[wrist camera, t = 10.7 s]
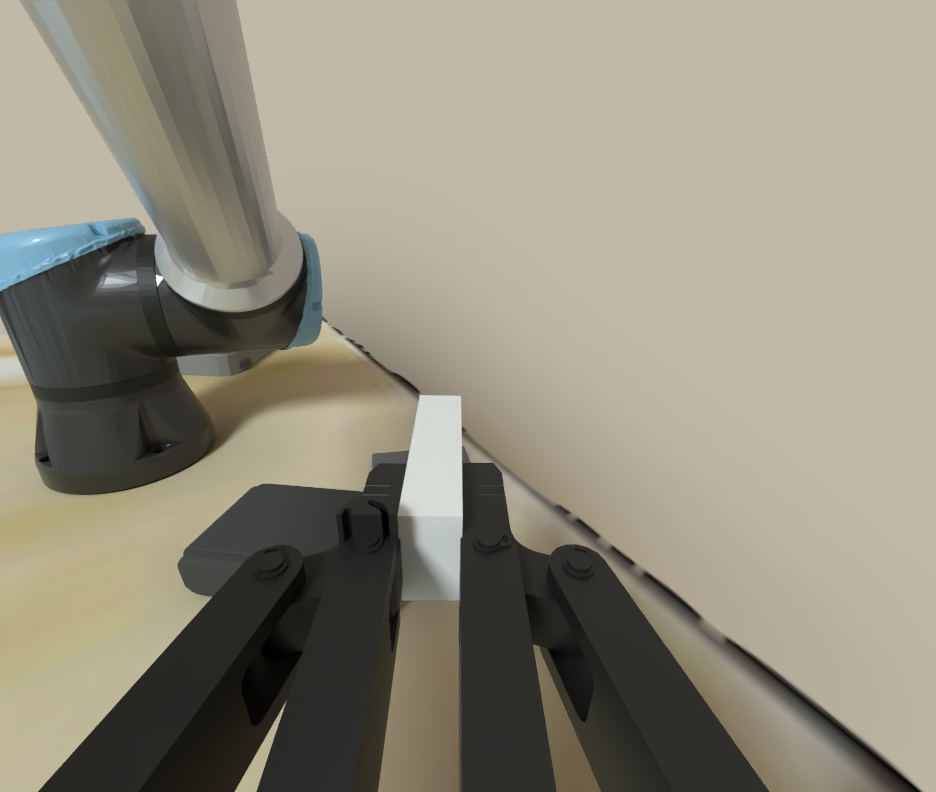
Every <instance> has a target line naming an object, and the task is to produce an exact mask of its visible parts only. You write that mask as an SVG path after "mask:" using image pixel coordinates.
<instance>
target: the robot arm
mask: <svg viewBox="0 0 936 792" xmlns="http://www.w3.org/2000/svg"><path fill="white" fill-rule="evenodd" d="M20 2H21V3H22V5H23V7H24V8H25V10H26V12H27V13H28V15H29V17H30V18H31V20H32V22H33V23H34V25H35V27H36V28H37V30H38V32H39V33H40V35H41V36H42V38H43V40H44V42H45V43H46V45H47V46H48V48H49V50H50V52H51V53H52V55H53V57H54V58H55V60H56V62H57V63H58V65H59V67H60V68H61V70H62V72H63V73H64V75H65V77H66V78H67V80H68V82H69V83H70V85H71V87H72V88H73V90H74V92H75V93H76V95H77V97H78V98H79V100H80V102H81V103H82V105H83V107H84V108H85V110H86V112H87V113H88V115H89V116H90V118H91V120H92V122H93V123H94V125H95V127H96V128H97V130H98V132H99V133H100V135H101V136H102V138H103V140H104V142H105V143H106V145H107V146H108V148H109V150H110V152H111V153H112V155H113V156H114V158H115V160H116V162H117V163H118V165H119V166H120V168H121V170H122V171H123V173H124V175H125V176H126V178H127V180H128V181H129V183H130V185H131V186H132V188H133V190H134V191H135V193H136V195H137V196H138V198H139V200H140V201H141V203H142V205H143V206H144V208H145V210H146V211H147V213H148V215H149V216H150V218H151V220H152V221H153V223H154V225H155V226H156V228H157V229H158V233H157V235H146V234H145V232H146V231H145V228H144V227H143V226H142V225H141V223H140V221H139V220H137V219H136V218H125V219H117V220H108V221H100V222H91V223H83V224H74V225H66V226H59V227H50V228H41V229H34V230H26V231H18V232H10V233H2V234H0V316H1V319H2V321H3V324H4V326H5V328H6V330H7V333H8V335H9V338H10V340H11V342H12V345H13V347H14V349H15V352H16V354H17V356H18V359H19V361H20V363H21V366H22V368H23V370H24V373H25V375H26V378H27V380H28V382H29V384H30V386H31V389H32V391H33V394H34V396H35V399H36V402H37V420H36V442H35V463H36V466H37V468H38V471H39V473H40V475H41V478H42V480H43V482H44V484H45V485H46V486H47V487H49V488H50V489H52V490H55V491H58V492H62V493H68V494H97V493H106V492H113V491H118V490H123V489H128V488H132V487H136V486H140V485H143V484H146V483H149V482H153V481H155V480H158V479H161V478H163V477H166V476H168V475H171V474H173V473H175V472H177V471H179V470H181V469H183V468H185V467H187V466H189V465H190V464H192V463H194V462H195V461H196V460H198V459H199V458H201V457H202V456H203V455H204V454H205V453H206V452H207V451H208V450H209V449H210V448H211V446H212V445H213V443H214V440H215V433H214V429H213V425H212V421H211V418H210V416H209V414H208V413H207V411H206V410H205V409H204V407H203V406H202V404H201V403H200V401H199V400H198V399H197V397H196V396H195V394H194V393H193V392H192V390H191V389H190V387H189V386H188V384H187V383H186V382H185V380H184V379H183V377H182V375H181V373H180V370H179V366H178V362H177V358H176V357H182V356H193V355H206V354H219V353H231V352H244V351H257V350H270V349H279V350H287V349H290V348H292V347H299V346H306V345H310V344H312V343H313V342H315V341H316V340H317V338H318V336H319V334H320V330H321V324H322V305H321V302H322V280H321V269H320V261H319V255H318V250H317V246H316V243H315V241H314V239H313V238H311V237H310V236H309V235H307V234H301V233H299V232H296V230H295V228H294V227H293V225H292V224H291V222H290V221H289V220H288V219H287V218H286V217H285V216H284V215H283V214H281V213H280V212H279V211H278V210H277V207H276V202H275V197H274V192H273V187H272V182H271V176H270V171H269V166H268V161H267V156H266V151H265V146H264V141H263V136H262V130H261V125H260V120H259V115H258V110H257V105H256V100H255V95H254V90H253V85H252V79H251V75H250V70H249V64H248V59H247V54H246V49H245V44H244V39H243V34H242V28H241V24H240V18H239V13H238V8H237V3H236V0H20ZM336 521H337V528H338V536H339V545H338V546H336V547H334V548H332V549H330V550H327V551H324V552H321V553H317V554H313V555H309V556H305V557H303V556H302V554H301V553H300V551H299V550H298V549H297V548H294V547H292V546H289V545H275V546H270V547H266V548H264V549H262V550H260V551H258V552H256V553H254V554H253V555H251V556H250V557H249V558H248V559H247V560H245V561H244V563H243V564H242V565H241V566H240V567H239V568H238V569H237V570H236V571H235V573H234V574H233V575H232V576H231V577H230V578H229V579H228V580H227V582H226V583H225V584H224V585H223V586H222V587H221V588H220V589H219V590H218V592H217V593H216V594H215V595H214V596H213V597H212V598H211V599H210V600H209V602H208V603H207V604H206V605H205V606H204V607H203V608H202V609H201V611H200V612H199V613H198V614H197V615H196V616H195V617H194V618H193V619H192V621H191V622H190V623H189V624H188V625H187V626H186V627H185V628H184V629H183V631H182V632H181V633H180V634H179V635H178V636H177V637H176V638H175V640H174V641H173V642H172V643H171V644H170V645H169V646H168V647H167V648H166V650H165V651H164V652H163V653H162V654H161V655H160V656H159V657H158V658H157V660H156V661H155V662H154V663H153V664H152V665H151V666H150V667H149V669H148V670H147V671H146V672H145V673H144V674H143V675H142V676H141V677H140V679H139V680H138V681H137V682H136V683H135V684H134V685H133V686H132V687H131V689H130V690H129V691H128V692H127V693H126V694H125V695H124V696H123V697H122V699H121V700H120V701H119V702H118V703H117V704H116V705H115V706H114V708H113V709H112V710H111V711H110V712H109V713H108V714H107V715H106V716H105V718H104V719H103V720H102V721H101V722H100V723H99V724H98V725H97V726H96V728H95V729H94V730H93V731H92V732H91V733H90V734H89V735H88V737H87V738H86V739H85V740H84V741H83V742H82V743H81V744H80V745H79V747H78V748H77V749H76V750H75V751H74V752H73V753H72V754H71V755H70V757H69V758H68V759H67V760H66V761H65V762H64V763H63V764H62V766H61V767H60V768H59V769H58V770H57V771H56V772H55V773H54V774H53V776H52V777H51V778H50V779H49V780H48V781H47V782H46V783H45V784H44V786H43V787H42V788H41V789H40V790H39V791H38V792H235V790H236V788H237V786H238V785H239V783H240V781H241V779H242V778H243V776H244V774H245V772H246V771H247V769H248V767H249V765H250V763H251V762H252V760H253V758H254V756H255V755H256V753H257V751H258V749H259V748H260V746H261V744H262V742H263V741H264V739H265V737H266V735H267V734H268V732H269V730H270V728H271V727H272V725H273V723H274V721H275V720H276V718H277V716H278V714H279V713H280V711H281V709H282V707H283V706H284V704H285V702H286V700H287V702H286V705H285V708H284V711H283V714H282V717H281V720H280V723H279V726H278V729H277V732H276V735H275V738H274V741H273V744H272V747H271V750H270V753H269V756H268V759H267V762H266V765H265V768H264V771H263V774H262V777H261V780H260V783H259V786H258V789H257V792H378V787H379V779H380V771H381V764H382V756H383V748H384V741H385V733H386V726H387V718H388V710H389V703H390V695H391V687H392V680H393V672H394V665H395V657H396V649H397V642H398V634H399V626H400V598H401V592H402V601H460V606H459V792H556V786H555V779H554V773H553V767H552V761H551V755H550V748H549V742H548V736H547V730H546V723H545V717H544V711H543V705H542V699H541V692H540V686H539V680H538V674H537V667H536V661H535V655H534V649H533V644H535V645H538V646H539V647H540V651H541V653H542V656H543V658H544V660H545V663H546V665H547V667H548V669H549V672H550V674H551V676H552V679H553V681H554V683H555V686H556V688H557V690H558V693H559V695H560V697H561V699H562V702H563V704H564V706H565V709H566V711H567V713H568V716H569V718H570V720H571V723H572V725H573V727H574V729H575V732H576V734H577V736H578V739H579V741H580V743H581V746H582V748H583V750H584V753H585V755H586V757H587V759H588V762H589V764H590V766H591V769H592V771H593V773H594V776H595V778H596V780H597V783H598V785H599V787H600V790H601V792H769V791H768V789H767V788H766V786H765V785H764V784H763V782H762V781H761V779H760V778H759V777H758V775H757V774H756V772H755V771H754V770H753V768H752V767H751V765H750V764H749V762H748V761H747V760H746V758H745V757H744V755H743V754H742V753H741V751H740V750H739V748H738V747H737V746H736V744H735V743H734V741H733V740H732V739H731V737H730V736H729V734H728V733H727V731H726V730H725V729H724V727H723V726H722V724H721V723H720V722H719V720H718V719H717V717H716V716H715V715H714V713H713V712H712V710H711V709H710V708H709V706H708V705H707V703H706V702H705V701H704V699H703V698H702V696H701V695H700V693H699V692H698V691H697V689H696V688H695V686H694V685H693V684H692V682H691V681H690V679H689V678H688V677H687V675H686V674H685V672H684V671H683V670H682V668H681V667H680V665H679V664H678V662H677V661H676V660H675V658H674V657H673V655H672V654H671V653H670V651H669V650H668V648H667V647H666V646H665V644H664V643H663V641H662V640H661V639H660V637H659V636H658V634H657V633H656V632H655V630H654V629H653V627H652V626H651V624H650V623H649V622H648V620H647V619H646V617H645V616H644V615H643V613H642V612H641V610H640V609H639V608H638V606H637V605H636V603H635V602H634V601H633V599H632V598H631V596H630V595H629V594H628V592H627V591H626V589H625V588H624V586H623V585H622V584H621V582H620V581H619V579H618V578H617V577H616V575H615V574H614V572H613V571H612V570H611V568H610V567H609V565H608V564H607V563H606V561H605V560H604V559H603V558H602V557H601V556H600V555H599V554H598V553H597V552H595V551H593V550H591V549H590V548H588V547H584V546H580V545H564V546H561V547H558V548H556V549H555V550H554V551H553V552H552V553H551V555H546V554H542V553H539V552H535V551H532V550H530V549H528V548H526V547H524V546H522V545H521V544H520V543H519V542H518V541H516V539H515V538H514V536H513V535H512V533H511V530H510V524H509V518H508V511H507V504H506V498H505V491H504V486H503V478H502V473H501V472H500V470H499V469H498V468H497V467H496V466H495V464H494V463H462V426H461V396H439V395H420V397H419V402H418V408H417V413H416V418H415V424H414V429H413V435H412V440H411V445H410V451H409V456H408V461H407V464H405V463H379V464H378V465H377V466H376V467H375V468H374V469H373V470H372V471H371V472H370V473H369V475H368V478H367V481H366V486H365V488H364V491H363V496H362V497H361V498H357V499H355V500H352V501H349V502H348V503H346V504H345V505H343V506H342V507H341V508H340V509H339V511H338V512H337V514H336ZM287 698H288V699H287Z"/></svg>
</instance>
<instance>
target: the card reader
mask: <svg viewBox="0 0 936 792" xmlns="http://www.w3.org/2000/svg"><path fill="white" fill-rule="evenodd" d="M362 496H363V492H359V491H348V490H336V489H325V488H313V487H301V486H290V485H277V484H261V485H259V486H256V487H253V488H251V489H250V490H249V491H248V492H247V493H245V494H244V495H243V496H242V497H241V498H240V499H239V500H238V501H237V502H236V503H235V504H234V505H232V506H231V507H230V508H229V509H228V510H227V511H226V512H225V513H224V514H223V515H222V516H221V517H219V518H218V519H217V520H216V521H215V522H214V523H213V524H212V525H211V526H210V527H209V528H208V529H206V530H205V531H204V532H203V533H202V534H201V535H200V536H199V537H198V538H197V539H196V540H195V541H193V542H192V543H191V544H190V545H189V546H188V547H187V548H186V549H185V550H184V552H183V554H184V556H183V557H182V558H181V559H180V561H179V562H178V569H179V572H180V574H181V577H182V579H183V582H184V584H185V586H186V587H187V588H188V589H190V590H191V591H192V592H194V593H196V594H200V595H205V596H212V597H213V596H214V595H215V594H216V593H217V592H218V590H219V589H220V588H221V587H222V586H223V585H224V584H225V583H226V582H227V580H228V579H229V578H230V577H231V576H232V575H233V574H234V573H235V571H236V570H237V569H238V568H239V567H240V566H241V565H242V564H243V563H244V561H245V560H247V559H248V558H249V557H250V556H251V555H253V554H254V553H256V552H258V551H260V550H262V549H264V548H266V547H270V546H275V545H289V546H292V547H294V548H297V549H298V550H299V551H300V553H301V554H302V556H303V557H305V556H309V555H313V554H317V553H321V552H324V551H327V550H330V549H332V548H334V547H336V546H338V545H339V536H338V528H337V521H336V514H337V512H338V511H339V509H340V508H341V507H342V506H343V505H345V504H346V503H348V502H349V501H352V500H355V499H357V498H361V497H362Z"/></svg>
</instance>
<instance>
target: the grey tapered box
mask: <svg viewBox="0 0 936 792" xmlns="http://www.w3.org/2000/svg"><path fill="white" fill-rule="evenodd" d="M273 350H274V349H270V350H257V351H244V352H231V353H219V354H206V355H193V356H182V357H176V358H177V362H178V366H179V370H180V373H181V375H199V376H233V375H235V374H238V373H240V372H242V371H243V370H245V369H246V368H248V367H249V366H251V365H252V364H254V363H255V362H257V361H258V360H259V359H261V358H262V357H264V356H265V355H267V354H268V353H270V352H271V351H273Z"/></svg>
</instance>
